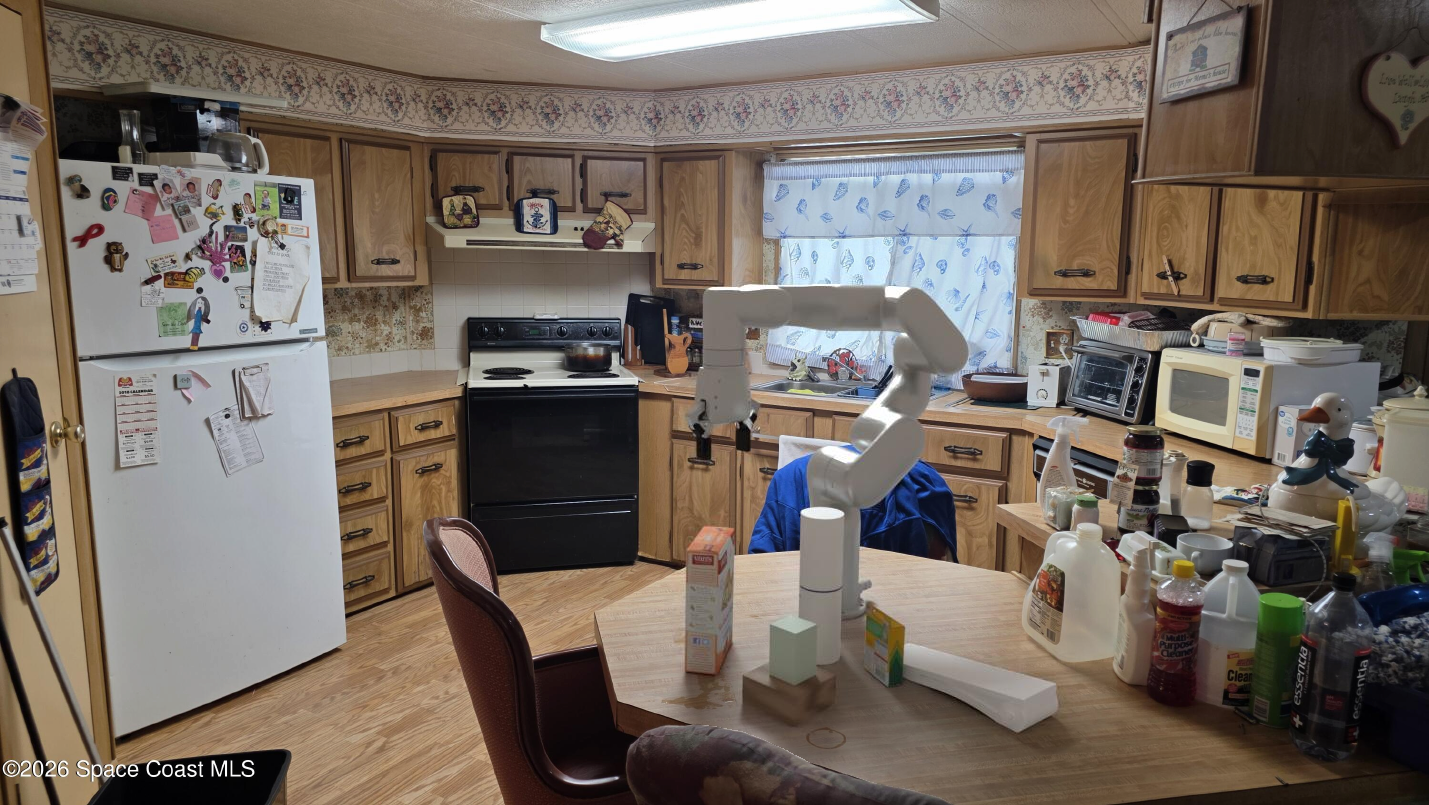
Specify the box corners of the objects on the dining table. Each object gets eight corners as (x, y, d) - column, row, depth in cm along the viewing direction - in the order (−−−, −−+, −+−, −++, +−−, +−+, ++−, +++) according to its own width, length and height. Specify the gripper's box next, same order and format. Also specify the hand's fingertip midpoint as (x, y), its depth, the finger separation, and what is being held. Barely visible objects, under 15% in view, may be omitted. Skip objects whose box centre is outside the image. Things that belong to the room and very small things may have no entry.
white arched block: (879, 699, 149) (1027, 751, 127) (869, 660, 148) (1016, 706, 125) (917, 668, 155) (1064, 713, 133) (907, 631, 154) (1055, 670, 131)
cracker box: (719, 677, 144) (720, 552, 141) (683, 673, 145) (683, 549, 142) (735, 641, 158) (736, 526, 154) (701, 638, 159) (702, 524, 156)
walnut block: (784, 683, 143) (784, 654, 142) (835, 705, 136) (836, 674, 135) (742, 706, 136) (742, 675, 135) (793, 730, 129) (794, 697, 128)
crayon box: (903, 684, 142) (906, 615, 140) (887, 687, 141) (890, 617, 139) (878, 665, 149) (881, 598, 147) (863, 668, 148) (865, 601, 146)
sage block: (790, 664, 138) (791, 615, 137) (815, 674, 135) (817, 624, 134) (769, 674, 135) (769, 624, 134) (794, 685, 131) (795, 633, 130)
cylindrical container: (812, 668, 147) (816, 521, 143) (789, 651, 154) (792, 510, 150) (848, 659, 151) (853, 515, 147) (824, 643, 157) (828, 505, 153)
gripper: (743, 353, 164) (742, 444, 167) (672, 360, 152) (673, 458, 155) (774, 356, 159) (772, 451, 162) (702, 364, 147) (702, 466, 150)
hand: (723, 454), depth 158 cm, fingers open, 9 cm apart
